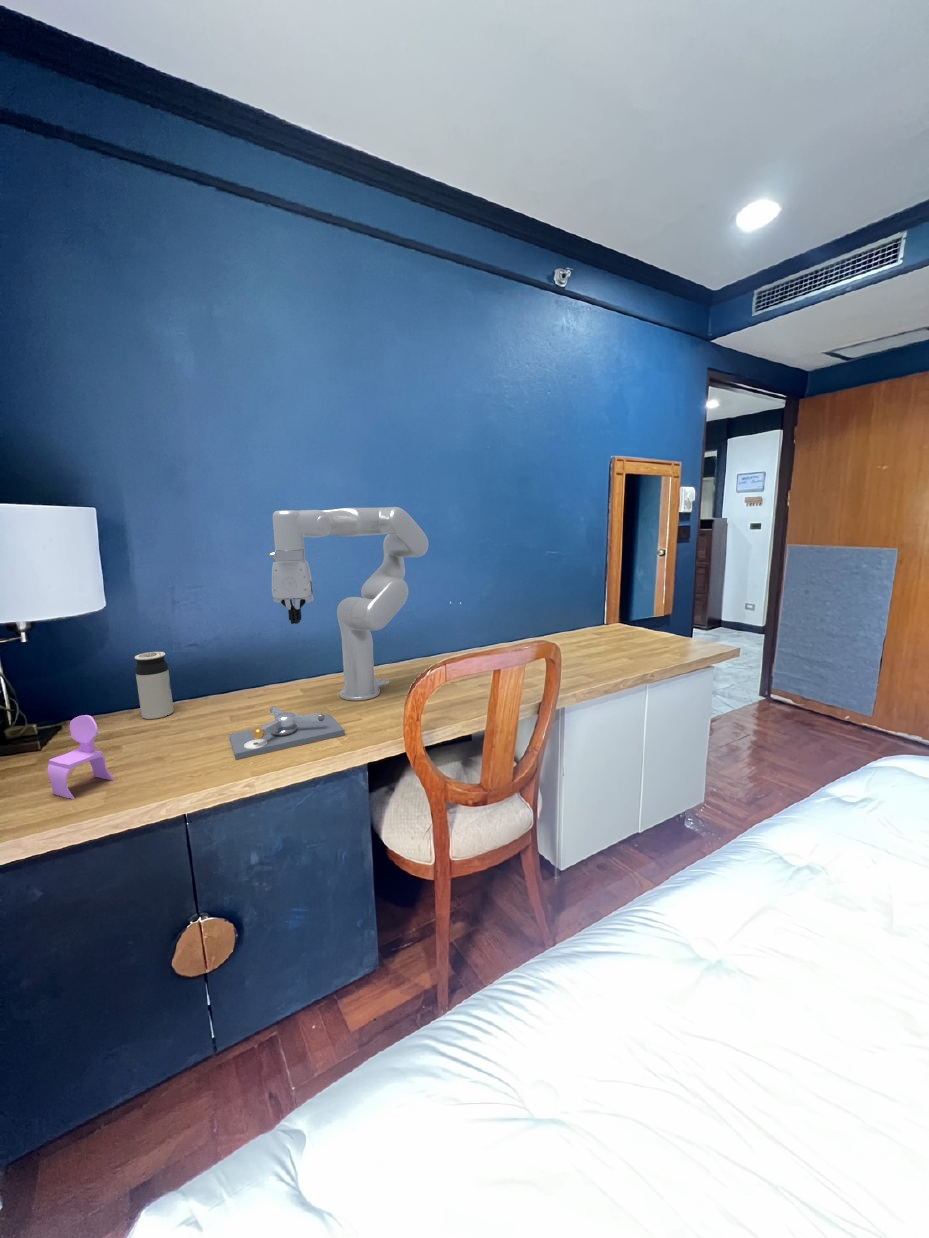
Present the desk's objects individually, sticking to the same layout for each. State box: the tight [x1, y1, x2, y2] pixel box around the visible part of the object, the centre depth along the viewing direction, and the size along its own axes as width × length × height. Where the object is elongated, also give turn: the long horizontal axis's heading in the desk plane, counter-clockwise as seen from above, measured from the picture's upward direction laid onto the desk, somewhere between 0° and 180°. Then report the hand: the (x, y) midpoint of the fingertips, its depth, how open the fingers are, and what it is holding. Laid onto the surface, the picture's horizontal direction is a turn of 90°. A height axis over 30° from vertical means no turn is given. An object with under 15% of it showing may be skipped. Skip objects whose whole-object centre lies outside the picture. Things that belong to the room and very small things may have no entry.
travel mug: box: [134, 651, 175, 720], centre depth 143 cm, size 8×8×18 cm
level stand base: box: [228, 713, 345, 760], centre depth 128 cm, size 26×13×2 cm, turn 121°
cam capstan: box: [253, 705, 325, 739], centre depth 126 cm, size 16×17×4 cm
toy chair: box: [47, 714, 115, 800], centre depth 103 cm, size 8×9×15 cm
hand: (295, 622), depth 138 cm, fingers closed
